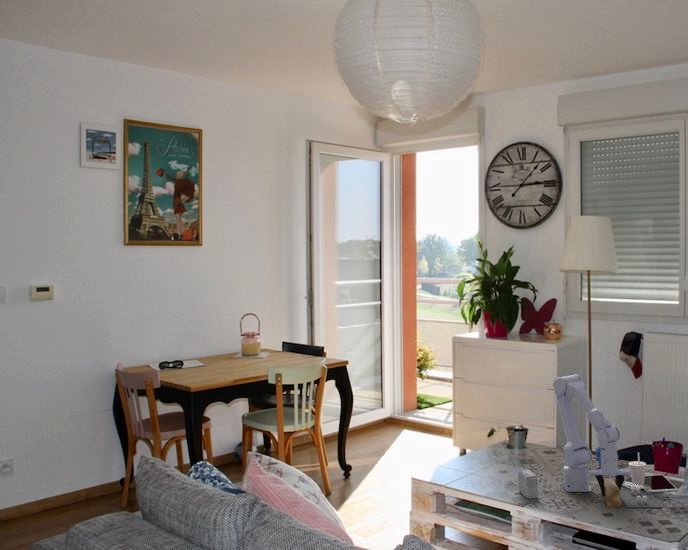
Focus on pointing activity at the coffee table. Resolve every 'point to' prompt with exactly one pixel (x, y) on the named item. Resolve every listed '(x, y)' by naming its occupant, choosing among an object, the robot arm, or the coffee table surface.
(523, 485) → the medicine box
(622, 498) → the peg base
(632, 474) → the smoothie
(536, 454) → the coffee table surface
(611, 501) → the oak block
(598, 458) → the grapes
